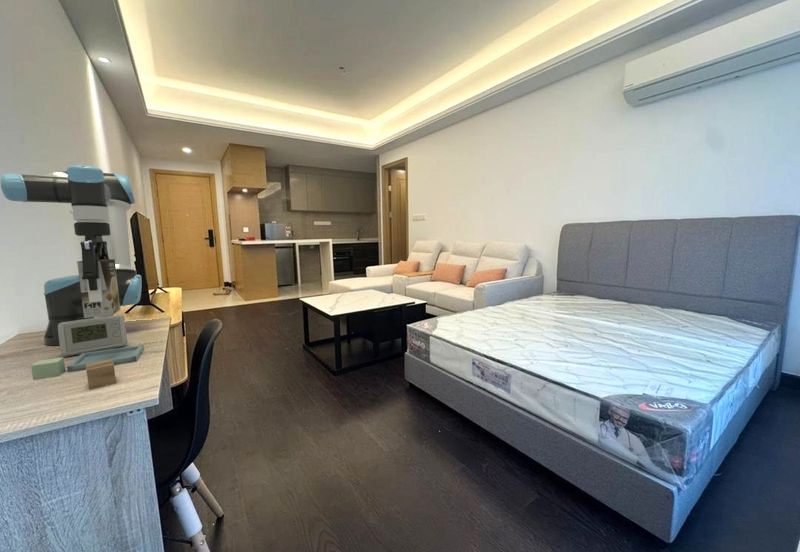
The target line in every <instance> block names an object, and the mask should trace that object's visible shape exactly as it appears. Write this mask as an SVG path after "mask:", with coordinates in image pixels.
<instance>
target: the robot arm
mask: <svg viewBox="0 0 800 552" xmlns="http://www.w3.org/2000/svg"><path fill="white" fill-rule="evenodd" d="M0 188H1V192H2V194H3V196H4V197H5V198H6V199H7V200H8V201H11V202H22V203H54V204H55V203H57V204H58V203H59V204H71V209H70V210H69V213H70V214H72V218H73V220H74V221H76V222H74V223H73V228H74V234H75V235H76V236H78V237H84V241H80V243H79V245H80V246H81V247H80V248H81V261H82V266H83V277H82V279H83V280H84V279H86V280H87V287H88V295H89V302H101V301H103V298H102V290H101V281H100V278H99V279H98V277H99V269H98V261H99V260H105V259H115V267H116V276H117V285H118V294H119V302H120V307H126V306H133V305H137V304H139V302H140V300H141V296H142V288H143V287H142V279H143V278H142V275H141V274H137V270H136V269H134V268H133V267H132V263H131V262H132V261H131V249H130V238H129V225H128V216H127V215H128V212H127V211H129V210H130V209H132V205H133V204H136V200H135V198H134V193H133V189H132V186H131V181H130V178H129V177H128V176H127V175H125V174H121V173H115V172H113V173H109V172H104V171H103V170H102V169H101V168H100V167H97V166H90V165H83V164H81V165H80V164H72V165H69V166H68V167H66V170H65V171H53V172H49V173H46V174H21V173H4V174H3V175H2V176H1V177H0ZM75 235H74V236H75ZM43 289H44V290H43V291H44V293H43V295H44V298H45V299H44V300H45V304H46V305H45V306H46V313H47V317H48V318H47V319H48V323H47V326H46V330H45V333H44V337H43V340H44V343H43V344H44V345H45V346H60V343H59V334H58V324H59V323H62V322H69V321H76V320H82V319H89V318H96V317H89V318H84V312H83V304H82V296H81V288H80V280H79V274H76V275H68V276H63V277H57V278H52V279H49V280H46V281H45V282H44V284H43Z"/></svg>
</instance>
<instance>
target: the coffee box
mask: <svg viewBox="0 0 800 552" xmlns="http://www.w3.org/2000/svg"><path fill="white" fill-rule="evenodd" d="M76 264H77V269H78V275H79V280H80V288H81V296H82V304H83V312H84V318H89V317H95V318H97V317H105V316H114V315H115V314H116V313H117V312H118V311H120V310H121V306H120V302H119V294H118V285H117V276H116V267H115V259H105V260H99V261H98V269H99V277H98V279H99V278H100V281H101V290H102V298H103V301H101V302H89V295H88V287H87V280H86V279H84V280H83V279H82V277H83V266H82V260H79V261H76Z"/></svg>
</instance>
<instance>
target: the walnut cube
mask: <svg viewBox="0 0 800 552" xmlns="http://www.w3.org/2000/svg"><path fill="white" fill-rule="evenodd" d="M85 370H86V376H87V378H86V379H87V384H88V390H93V389H98V388H102V387H106V386H109V385H113V384H116V383H117V380H116V371H115V365H114V363H113V360H107V361H102V362H97V363H92V364H87V365H86V369H85Z"/></svg>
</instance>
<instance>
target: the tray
mask: <svg viewBox="0 0 800 552" xmlns="http://www.w3.org/2000/svg"><path fill="white" fill-rule="evenodd" d="M144 350H145V348H144V344H142V345H141V344H140V345H139V344H138V345H134V346H124V347H117V348H114V349H110V350H103V351H96V352H88V353H82V354H81V355H78V357H76V358H75V359H73V361H72V362H70V363H69V364H68V365H67V366H66V371H67V373H72V372H78V371H84V370H86V365H87V364H92V363H97V362H102V361H107V360H113V363H114V366H115V365H123V364H127V363H128V364H129V363H135V362H137V361H138V360H139V358H140V357H141V355H142V354H143V352H144Z"/></svg>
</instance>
